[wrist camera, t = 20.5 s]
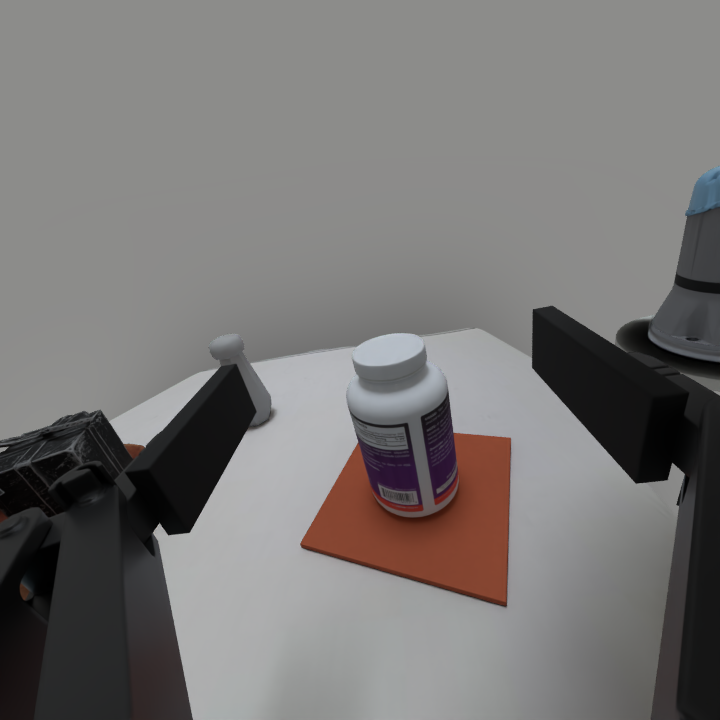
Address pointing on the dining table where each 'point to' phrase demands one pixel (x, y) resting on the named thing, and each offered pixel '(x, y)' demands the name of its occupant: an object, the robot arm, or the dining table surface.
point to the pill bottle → (403, 425)
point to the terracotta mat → (427, 525)
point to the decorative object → (56, 461)
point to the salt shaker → (243, 373)
